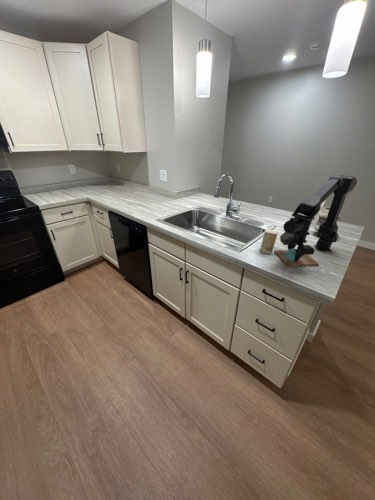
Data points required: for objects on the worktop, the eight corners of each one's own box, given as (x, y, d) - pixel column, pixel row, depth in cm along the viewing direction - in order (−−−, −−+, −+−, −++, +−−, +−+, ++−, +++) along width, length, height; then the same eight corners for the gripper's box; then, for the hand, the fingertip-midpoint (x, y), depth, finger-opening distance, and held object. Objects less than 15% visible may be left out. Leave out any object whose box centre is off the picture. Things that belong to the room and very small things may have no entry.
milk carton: (306, 220, 153) (314, 195, 143) (317, 222, 149) (326, 197, 140) (305, 223, 147) (313, 197, 138) (316, 225, 144) (325, 199, 135)
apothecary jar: (322, 231, 135) (332, 205, 126) (337, 239, 125) (349, 211, 116) (306, 232, 133) (315, 206, 124) (320, 240, 123) (330, 212, 114)
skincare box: (259, 252, 108) (264, 231, 102) (260, 248, 112) (264, 228, 106) (272, 254, 107) (277, 233, 101) (272, 250, 110) (277, 230, 104)
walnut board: (301, 251, 110) (302, 249, 109) (318, 265, 98) (318, 263, 97) (273, 252, 109) (274, 250, 108) (286, 266, 97) (287, 264, 96)
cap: (294, 254, 103) (297, 247, 101) (300, 260, 98) (303, 253, 96) (283, 255, 103) (286, 247, 100) (289, 261, 98) (292, 253, 95)
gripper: (275, 221, 100) (269, 248, 108) (295, 238, 84) (286, 268, 92) (297, 221, 101) (288, 248, 109) (320, 237, 85) (309, 267, 92)
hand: (292, 257), depth 100 cm, fingers closed on cap, 6 cm apart
